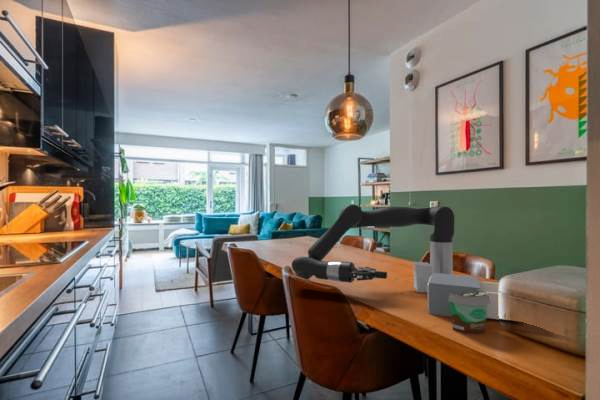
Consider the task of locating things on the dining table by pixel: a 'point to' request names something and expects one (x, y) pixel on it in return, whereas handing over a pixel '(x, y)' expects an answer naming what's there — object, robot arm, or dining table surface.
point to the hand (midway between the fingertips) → (386, 275)
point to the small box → (422, 275)
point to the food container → (469, 312)
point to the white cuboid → (493, 295)
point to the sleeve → (448, 290)
